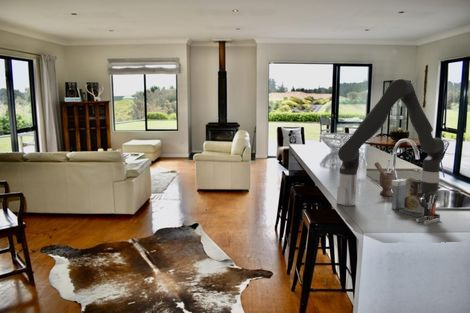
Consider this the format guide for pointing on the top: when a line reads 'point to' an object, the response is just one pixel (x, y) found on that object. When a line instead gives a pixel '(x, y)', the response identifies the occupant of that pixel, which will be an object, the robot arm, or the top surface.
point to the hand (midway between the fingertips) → (426, 215)
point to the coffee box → (413, 196)
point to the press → (399, 200)
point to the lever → (432, 212)
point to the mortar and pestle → (385, 181)
